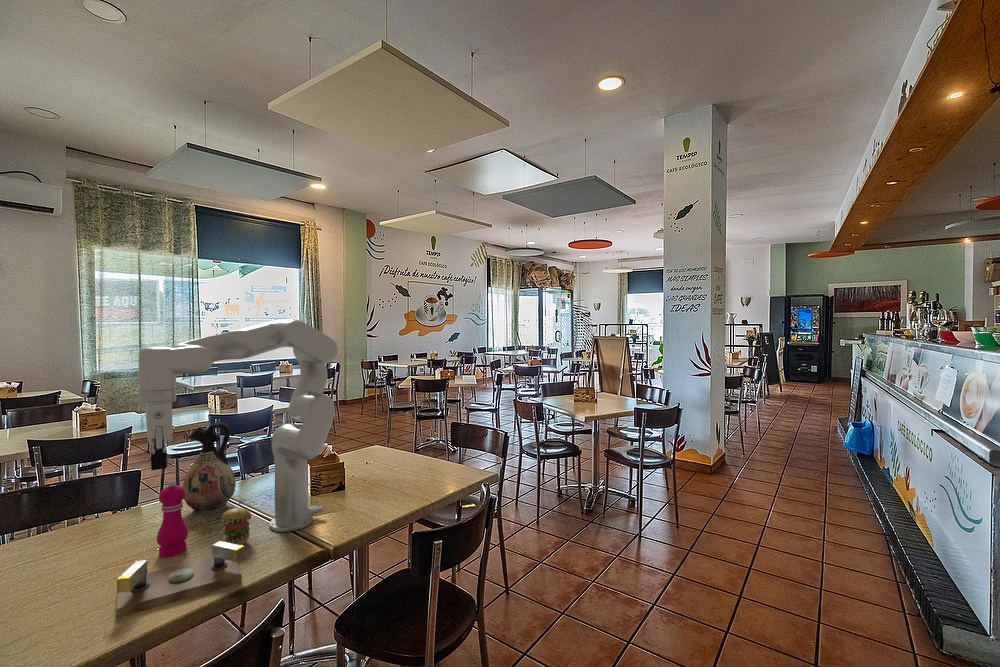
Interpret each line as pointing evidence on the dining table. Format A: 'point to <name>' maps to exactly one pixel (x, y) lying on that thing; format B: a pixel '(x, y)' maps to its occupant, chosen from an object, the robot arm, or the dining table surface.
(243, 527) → the hamburger
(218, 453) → the ceramic jug
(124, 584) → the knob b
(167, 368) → the robot arm
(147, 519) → the dining table surface
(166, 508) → the pepper mill
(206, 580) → the level plate
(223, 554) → the gold-tipped grey bar
